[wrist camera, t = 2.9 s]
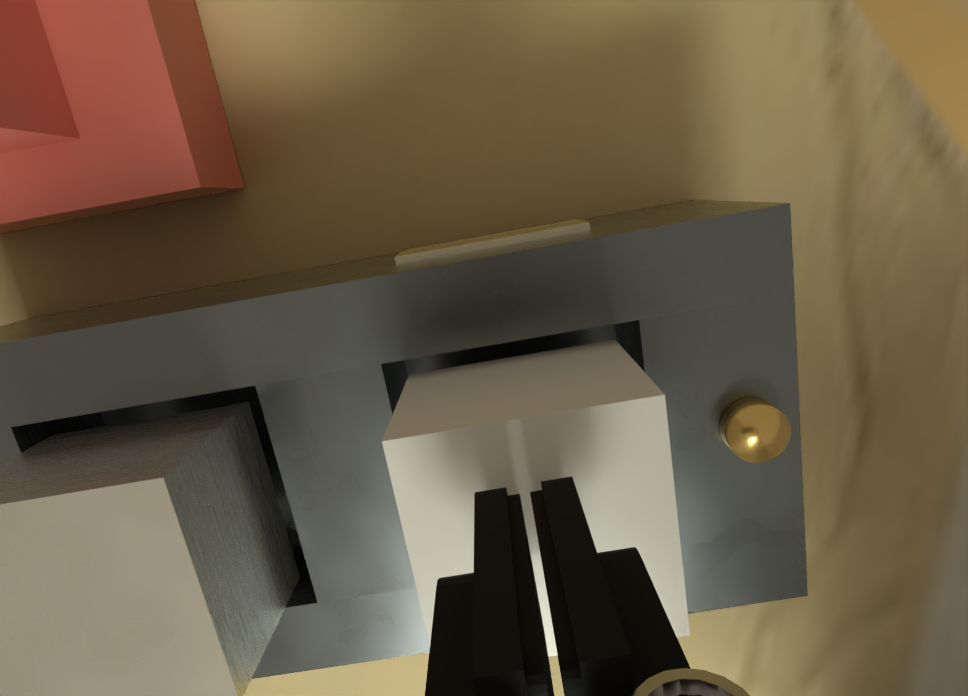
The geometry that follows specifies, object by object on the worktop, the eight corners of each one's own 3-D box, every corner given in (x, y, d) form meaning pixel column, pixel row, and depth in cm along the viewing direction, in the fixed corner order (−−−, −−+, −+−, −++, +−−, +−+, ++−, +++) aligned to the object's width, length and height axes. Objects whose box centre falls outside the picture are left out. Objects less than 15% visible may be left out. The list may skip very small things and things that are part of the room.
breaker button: (637, 524, 15) (690, 636, 12) (448, 553, 16) (436, 673, 12) (615, 339, 14) (665, 394, 10) (408, 374, 14) (381, 441, 10)
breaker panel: (718, 485, 21) (899, 709, 12) (124, 579, 22) (-131, 854, 13) (694, 193, 19) (900, 194, 9) (24, 313, 20) (-383, 420, 10)
